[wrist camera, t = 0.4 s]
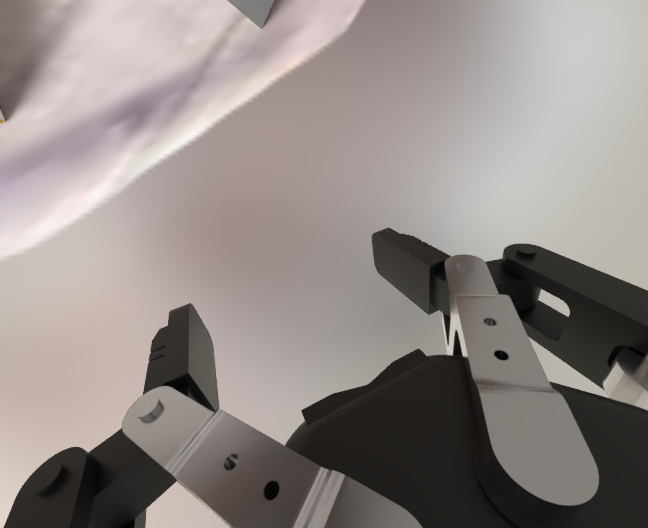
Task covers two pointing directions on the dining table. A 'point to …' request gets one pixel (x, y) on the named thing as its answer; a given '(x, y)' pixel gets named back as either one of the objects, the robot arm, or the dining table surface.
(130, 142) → the dining table surface
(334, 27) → the dining table surface
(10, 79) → the dining table surface
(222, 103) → the dining table surface
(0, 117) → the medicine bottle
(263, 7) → the tall gray pillar block
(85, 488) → the robot arm
